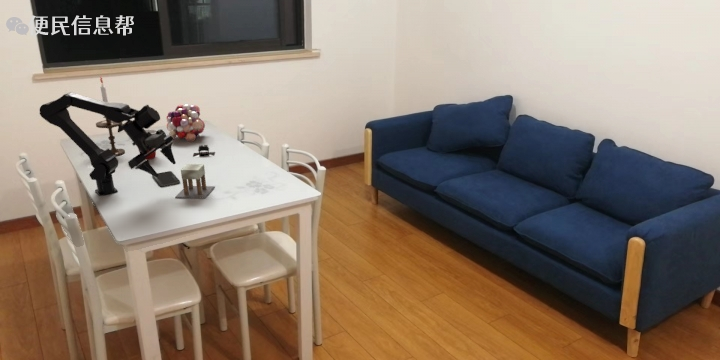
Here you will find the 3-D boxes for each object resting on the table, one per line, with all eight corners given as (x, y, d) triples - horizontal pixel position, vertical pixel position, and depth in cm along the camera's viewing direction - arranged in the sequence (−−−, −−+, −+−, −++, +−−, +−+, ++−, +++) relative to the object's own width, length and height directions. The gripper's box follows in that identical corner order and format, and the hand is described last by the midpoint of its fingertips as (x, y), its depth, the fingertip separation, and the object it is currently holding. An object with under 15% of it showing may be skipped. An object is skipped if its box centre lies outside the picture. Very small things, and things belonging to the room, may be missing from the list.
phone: (159, 185, 214) (151, 174, 226) (160, 188, 214) (151, 176, 226) (180, 181, 217) (171, 170, 230) (181, 184, 218) (171, 173, 230)
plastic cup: (165, 153, 253) (162, 128, 249) (155, 161, 243) (151, 134, 239) (142, 153, 254) (138, 127, 250) (131, 161, 244) (127, 134, 240)
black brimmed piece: (219, 152, 256) (218, 142, 255) (218, 157, 250) (217, 147, 248) (190, 154, 255) (189, 144, 253) (189, 159, 248) (187, 149, 246)
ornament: (213, 137, 284) (198, 100, 284) (204, 133, 265) (188, 94, 265) (179, 150, 283) (164, 113, 283) (168, 147, 264) (152, 108, 263)
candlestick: (121, 157, 249) (107, 78, 237) (97, 157, 250) (82, 78, 238) (131, 149, 260) (118, 73, 247) (107, 150, 260) (94, 74, 248)
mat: (175, 198, 204) (175, 196, 203) (186, 187, 214) (186, 185, 214) (205, 198, 203) (205, 197, 203) (214, 187, 213) (214, 186, 213)
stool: (183, 194, 205) (180, 170, 202) (190, 188, 211) (187, 164, 208) (201, 194, 205) (198, 170, 202) (206, 188, 211) (203, 164, 208)
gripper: (130, 139, 189) (159, 176, 193) (167, 115, 203) (194, 150, 207) (115, 150, 196) (144, 186, 200) (152, 126, 210) (179, 160, 214)
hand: (166, 170), depth 205 cm, fingers open, 9 cm apart
